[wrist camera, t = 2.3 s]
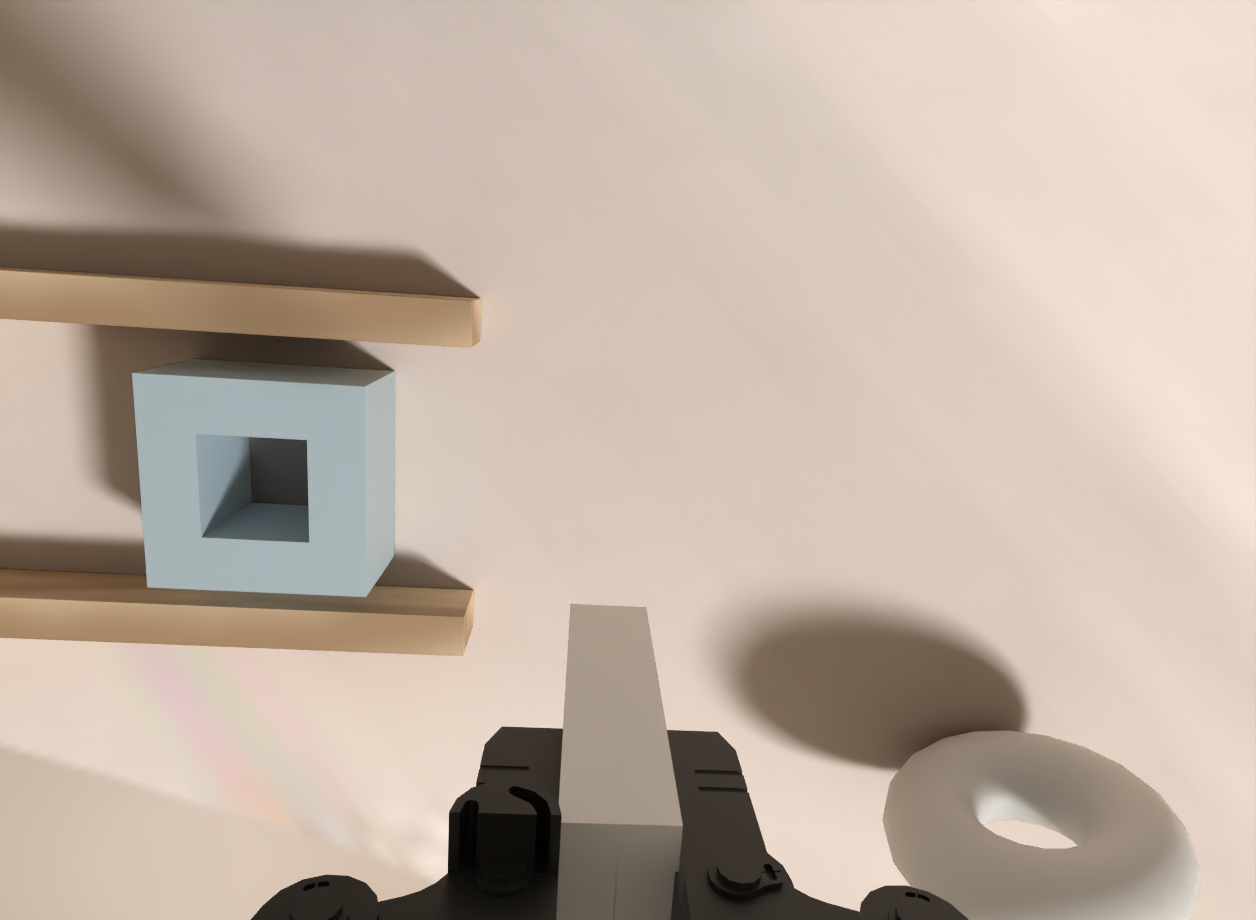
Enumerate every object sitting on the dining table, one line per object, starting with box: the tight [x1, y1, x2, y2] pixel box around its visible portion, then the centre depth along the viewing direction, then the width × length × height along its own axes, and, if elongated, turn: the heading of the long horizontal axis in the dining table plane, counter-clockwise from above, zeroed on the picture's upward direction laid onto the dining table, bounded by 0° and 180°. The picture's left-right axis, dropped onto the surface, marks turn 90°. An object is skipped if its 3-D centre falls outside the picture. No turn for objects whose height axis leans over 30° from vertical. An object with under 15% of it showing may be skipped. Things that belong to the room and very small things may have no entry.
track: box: [0, 267, 481, 656], centre depth 28 cm, size 12×24×3 cm, turn 86°
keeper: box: [132, 359, 395, 597], centre depth 28 cm, size 7×7×4 cm
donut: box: [883, 731, 1201, 920], centre depth 29 cm, size 10×3×10 cm, turn 96°
